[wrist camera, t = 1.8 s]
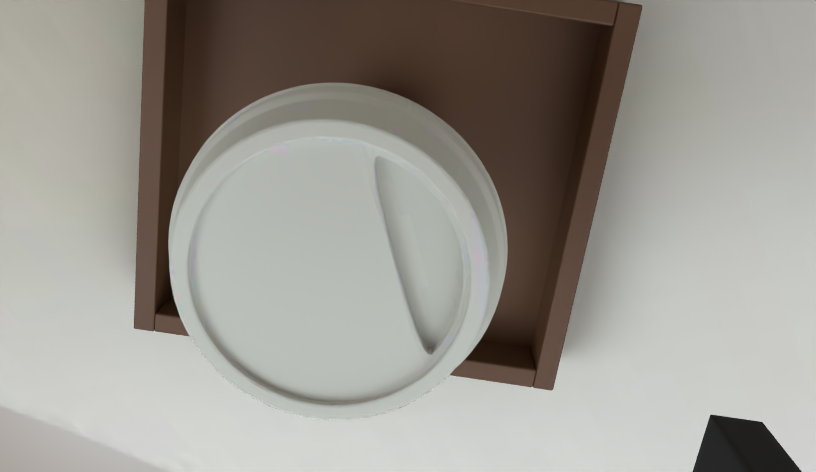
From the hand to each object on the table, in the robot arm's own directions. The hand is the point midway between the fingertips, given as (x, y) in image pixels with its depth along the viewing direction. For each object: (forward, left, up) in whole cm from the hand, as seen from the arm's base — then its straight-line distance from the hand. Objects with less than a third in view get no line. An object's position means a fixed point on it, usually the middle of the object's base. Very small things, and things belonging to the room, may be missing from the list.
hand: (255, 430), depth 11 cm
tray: (0, 0, -19) cm, 19 cm away
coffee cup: (0, 0, -19) cm, 19 cm away
